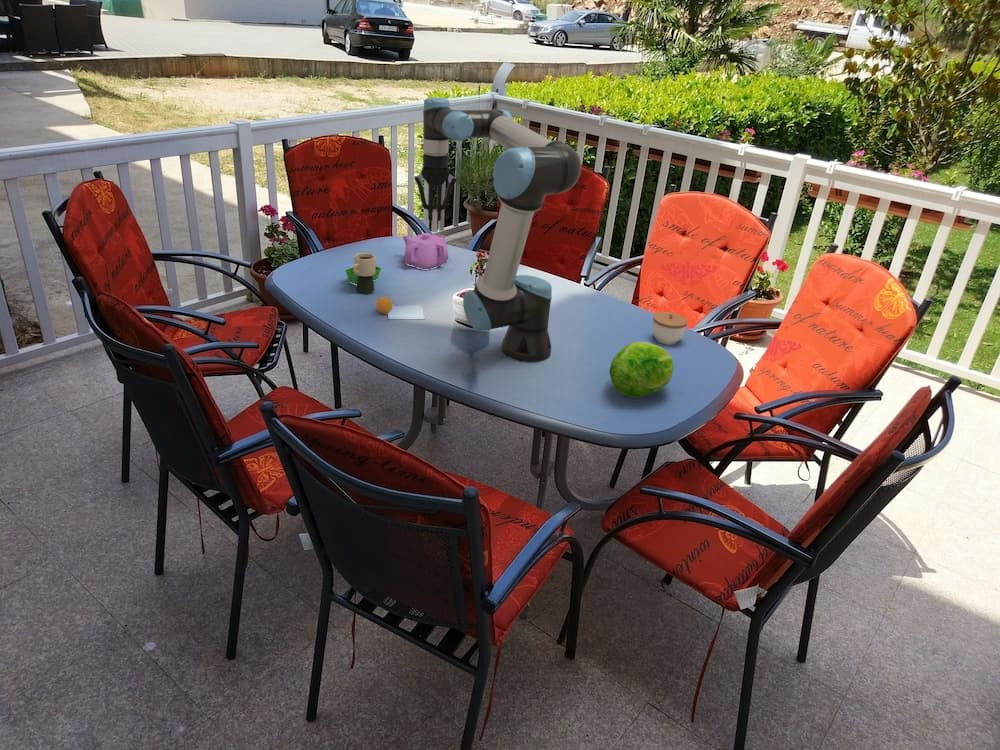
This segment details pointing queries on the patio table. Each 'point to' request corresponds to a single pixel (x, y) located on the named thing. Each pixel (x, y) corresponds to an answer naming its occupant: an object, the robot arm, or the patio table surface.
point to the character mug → (364, 271)
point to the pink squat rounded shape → (425, 250)
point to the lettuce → (641, 369)
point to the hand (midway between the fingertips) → (434, 230)
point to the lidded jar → (668, 327)
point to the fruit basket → (353, 277)
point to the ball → (384, 305)
